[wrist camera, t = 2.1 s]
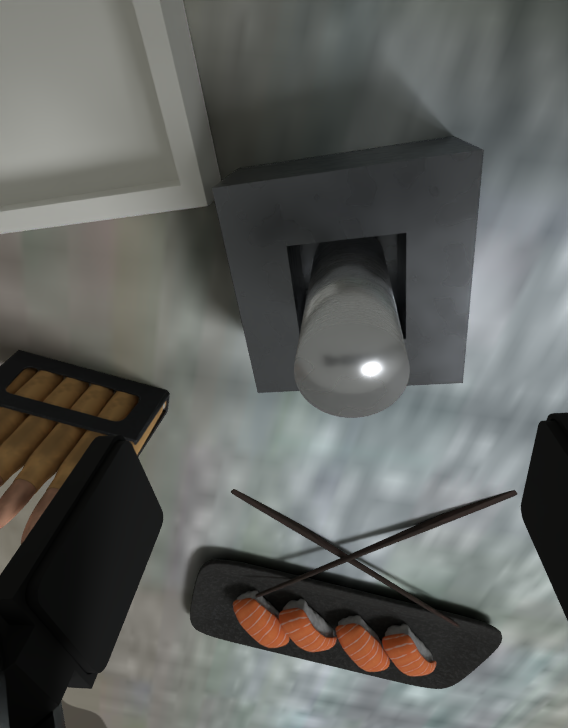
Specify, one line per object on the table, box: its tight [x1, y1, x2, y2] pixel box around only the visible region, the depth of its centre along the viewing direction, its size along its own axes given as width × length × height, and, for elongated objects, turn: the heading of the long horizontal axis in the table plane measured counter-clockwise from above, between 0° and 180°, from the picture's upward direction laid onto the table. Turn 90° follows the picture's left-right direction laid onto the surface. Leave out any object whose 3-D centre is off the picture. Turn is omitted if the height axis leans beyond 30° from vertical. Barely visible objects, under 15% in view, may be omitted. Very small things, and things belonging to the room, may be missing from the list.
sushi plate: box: [190, 489, 517, 689], centre depth 37 cm, size 29×30×4 cm
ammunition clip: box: [0, 350, 170, 544], centre depth 24 cm, size 11×2×12 cm, turn 76°
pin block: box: [212, 136, 484, 393], centre depth 20 cm, size 10×10×5 cm
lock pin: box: [294, 236, 410, 418], centre depth 17 cm, size 4×4×10 cm
